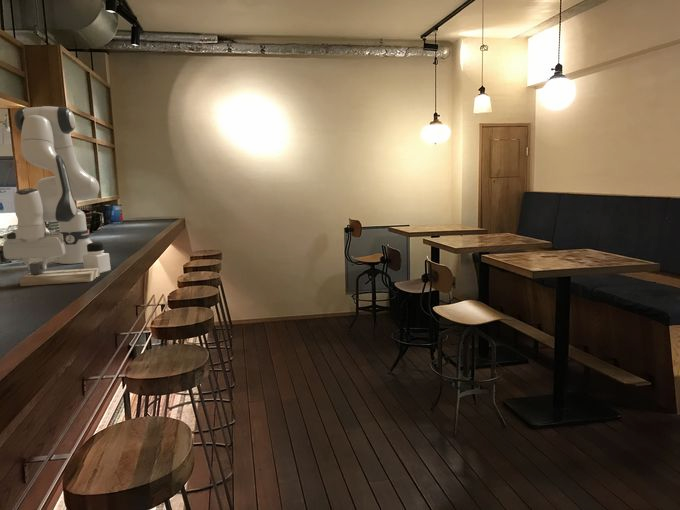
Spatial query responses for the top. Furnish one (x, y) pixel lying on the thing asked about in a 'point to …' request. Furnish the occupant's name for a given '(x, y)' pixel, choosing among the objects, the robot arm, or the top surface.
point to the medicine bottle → (96, 257)
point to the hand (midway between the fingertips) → (37, 269)
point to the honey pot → (51, 259)
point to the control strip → (60, 276)
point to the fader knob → (36, 267)
